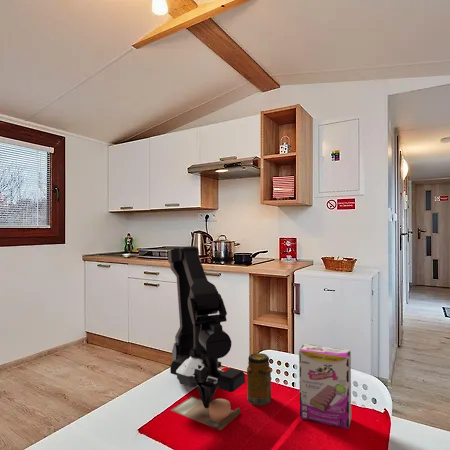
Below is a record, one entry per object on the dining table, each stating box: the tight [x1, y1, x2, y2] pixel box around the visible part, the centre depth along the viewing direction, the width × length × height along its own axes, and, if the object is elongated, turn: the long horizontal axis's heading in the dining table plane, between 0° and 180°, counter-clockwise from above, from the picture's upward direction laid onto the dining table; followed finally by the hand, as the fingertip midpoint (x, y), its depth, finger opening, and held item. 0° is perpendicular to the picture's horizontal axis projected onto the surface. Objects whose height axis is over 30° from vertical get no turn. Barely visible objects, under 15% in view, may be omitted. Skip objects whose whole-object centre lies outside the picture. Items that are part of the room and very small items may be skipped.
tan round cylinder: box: [209, 398, 232, 423], centre depth 81 cm, size 5×5×3 cm
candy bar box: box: [298, 343, 352, 430], centre depth 80 cm, size 11×5×16 cm, turn 65°
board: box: [170, 395, 241, 431], centre depth 83 cm, size 15×8×2 cm, turn 56°
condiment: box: [246, 352, 272, 407], centre depth 88 cm, size 7×8×12 cm
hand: (207, 407), depth 83 cm, fingers closed
